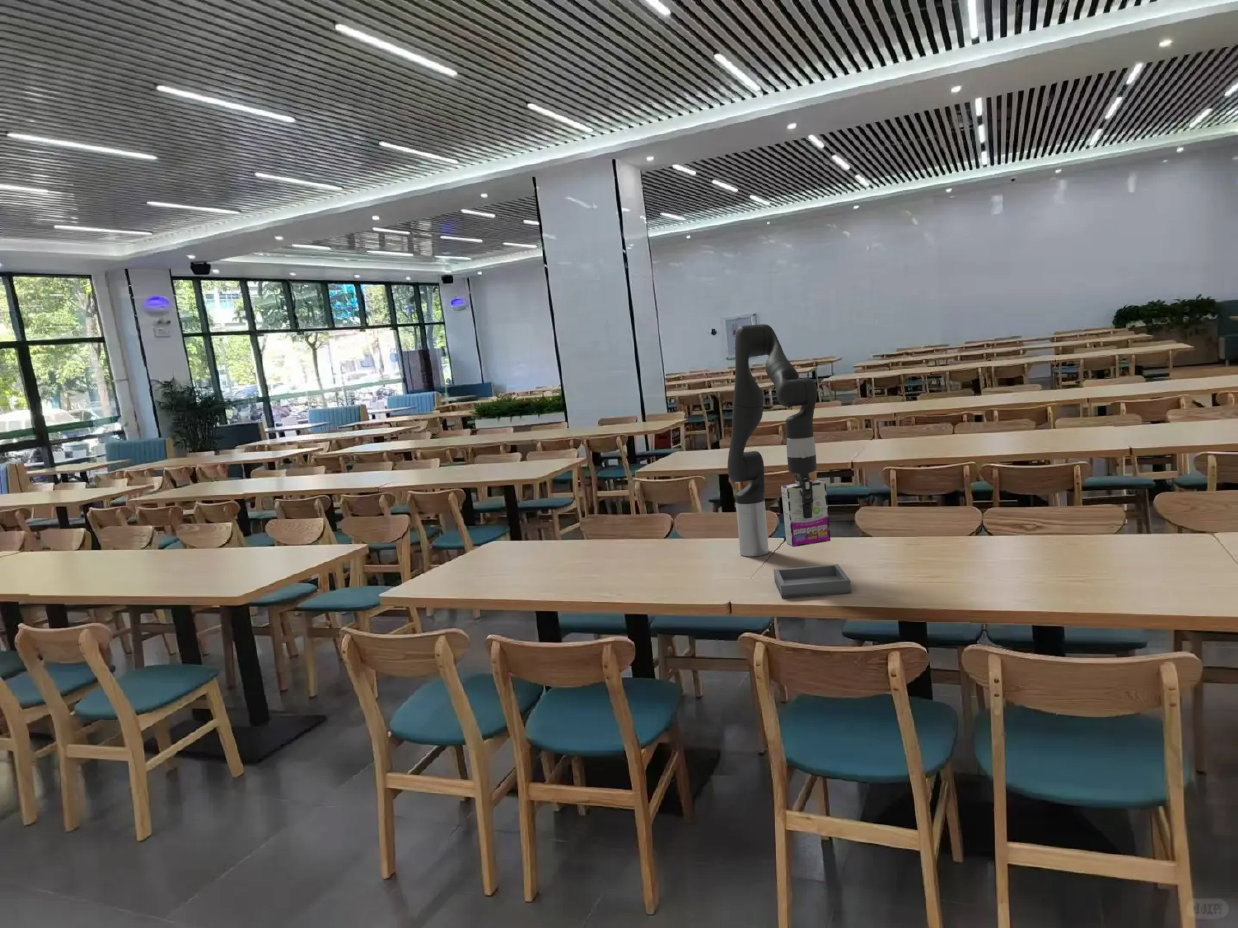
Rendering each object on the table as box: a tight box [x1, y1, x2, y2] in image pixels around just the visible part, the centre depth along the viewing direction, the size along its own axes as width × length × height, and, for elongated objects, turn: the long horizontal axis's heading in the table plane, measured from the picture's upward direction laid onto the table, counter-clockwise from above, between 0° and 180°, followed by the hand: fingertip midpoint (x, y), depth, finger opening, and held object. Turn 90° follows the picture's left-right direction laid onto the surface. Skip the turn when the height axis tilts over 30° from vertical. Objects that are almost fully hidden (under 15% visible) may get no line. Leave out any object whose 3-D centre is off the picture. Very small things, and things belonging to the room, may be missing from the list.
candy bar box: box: [780, 479, 832, 548], centre depth 215 cm, size 11×5×16 cm, turn 101°
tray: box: [773, 563, 852, 599], centre depth 217 cm, size 16×18×4 cm
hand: (805, 515), depth 215 cm, fingers closed on candy bar box, 5 cm apart
